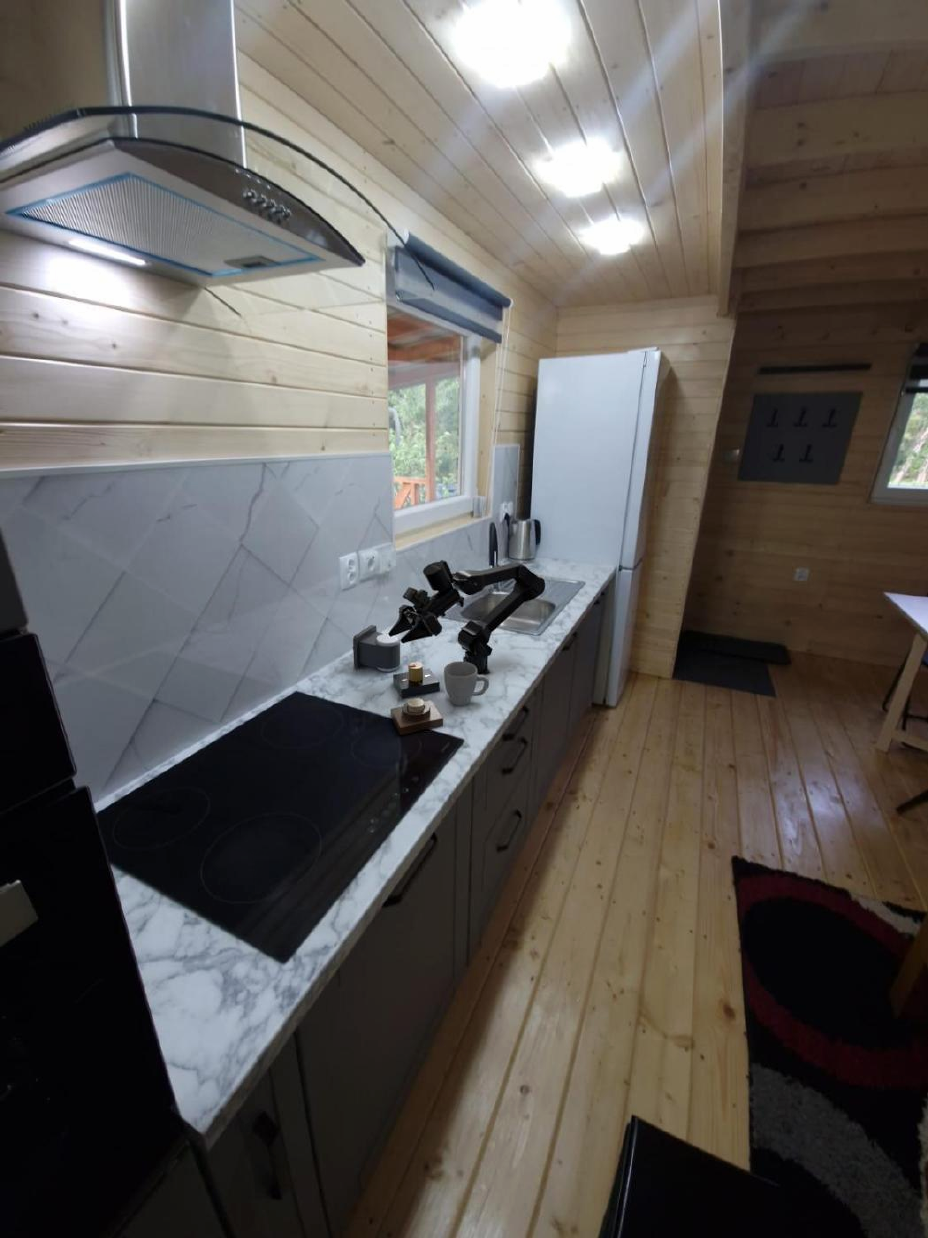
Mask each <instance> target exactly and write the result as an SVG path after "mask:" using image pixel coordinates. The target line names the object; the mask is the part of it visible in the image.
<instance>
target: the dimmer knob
mask: <svg viewBox="0 0 928 1238" xmlns="http://www.w3.org/2000/svg"><path fill="white" fill-rule="evenodd" d="M407 668H408V672H409V680H411V681H415V682H416V681H421V680H422V679H423V669H424V666H423V663H421V662H416V661H415V662H411V663H410V662H409V664H408V665H407Z"/></svg>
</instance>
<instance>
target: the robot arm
mask: <svg viewBox="0 0 928 1238" xmlns="http://www.w3.org/2000/svg"><path fill="white" fill-rule="evenodd" d="M422 573H423V575H424V578H426V581H427V583H428V585H429V587H430V589H431V590H432V591H434V592H435V593H434V594H433V595H432V596H429V592H428V591H427V590H425V589H422V588H421V589H419V590H418V589H416V588H414V587H411V586H408V587H407V589H406V590H405V592H404V593H403V595H402V598H403V599H404V600H407V601H408V602H409V603H410V604H412V605H409V604H402V605H401V606H400V607H398V619H397V620H396V622H395V623H394V625H393V626H392V628H390V631H389V632H388V633H387V634H388V635H389V636H390V637H392V636H395V635H396V636H398V635H400V634H403V633H405V632H406V633H405V634H404V635H403V636H402V637H401V639H399V640H400V643H402V644H406V643H410V642H414V641H417V640H422V639H426V638H433V636H434V637H437V636H438V635H440V634H441V633H442V631H443V626H442V624H441V623H440V621H439V620H438V619H439V618H440V617H441V618H444V617H446V616H447V614H446V612H448V611H449V610H451V609H452V608H453V607H454V606H456V605H457V606H459V607H461V608H464V607H465V606H464V605H465V599H466V598H465V597H464V596H462V595H461V594H460V592H461V593H463V594H465V595H466V596H474V595H477V593H478V594H479V593H480V592H482V591H483V590H484V589H485V588H486V587H488V586H491V585H495V584H499V583H503V582H506V581H510V580H514V585H513V587H512V591H511V592H510V593H509V594H508V595H507V596H505V598H503V599H502V600H501V601H500V602H499V603H498V604H497V605H495V607H493V608H492V609H491V610H490V611H489V612H488V613H487V614H486V615H485V616H484V617H482V618H481V619H480V620H479V621H473V620H472V619H470V620H469V621H467V623H466V624H465V625H464V626H462V627H460V631H458V633H457V643H458V645H459V646H461V649H462V650H464V656H463V658H462V662H468V663H471V664H473V665H475V666H476V668H477V674H478V675H487V674H490V672H491V671H490V670H489V669H488V662H489V661H488V659H489V657H490V656H492V652H493V647H492V646H490V645H489V644H488V643H490V639H491V635H492V633H493V632H495V630H497V628H499V626H501V624H503V623H504V622H505V621H507V619H508V618H509V617H510V616H511V615H512V614H513V613H515V612H516V611H517V610H518V609H519V608H520V607H521V606H522V605H523V604H524V603H527V602H531V601H533V600H535V599H537V598H539V597H540V596H541V595H542V594H543V593H544V592H545V590H546V581H545V579H544V578H543V577H541V576H538V575H537V574H536V573H534V572H532V571H531V570H530V569H529V568H528V567H527V566H526V565H525V564H523V563H520V562H517V561H511V562H509V563H506V564H503V565H502V564H501V565H498V566H494V567H490V568H486V569H482V570H472V569H464V570H463V569H461V570H458V571H456V572H455V573H454V572H453V573H452V572H451V570H450V568H449V563H448V562H447V560H444V559H441V560H439V561H435V562H431V563H429V564H427V565H426V566H425V567H424V568H423V571H422Z"/></svg>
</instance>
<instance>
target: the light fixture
mask: <svg viewBox="0 0 928 1238" xmlns="http://www.w3.org/2000/svg"><path fill="white" fill-rule="evenodd" d="M377 629H378V628H377V626H376V625H374V624H370V625H369V626H368V627H366V628H365V629H363V630H361V631H360V632H358V633H356V634H355V635H354V636H353V638H352V651H353V653H352V654H353V668H355V669H361V668H362V667H363V666H371V667H375V668H376V669H377V670H379V671H381V672H393V671H396V670H397V669H398V668H399V666H400V664H401V641H400V640H401V639H399V636H398V635H395V636H392V637H390V636H389V635H388V633H383V632H380V631H377Z"/></svg>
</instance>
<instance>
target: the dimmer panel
mask: <svg viewBox="0 0 928 1238" xmlns="http://www.w3.org/2000/svg"><path fill="white" fill-rule="evenodd" d="M392 684H393V686H394V687H395V689H396V691H397V693H398V694H399V696H400V698H401V699H402V700H404V699H408V698H413V697H419V696H423V695H428V694H432V693H433V694H434V693H438V692H440V690H441V689H440V687H441V686H440V685H441V682H440V681H439V679H438V677H436V674H434V672H433V671H432V670H431V668H428V667H426V668H423V679H422V680H421V681H416V682H415V681H411V680H409V671H406V672H400V673H395V674H394V673H393V674H392Z"/></svg>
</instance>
